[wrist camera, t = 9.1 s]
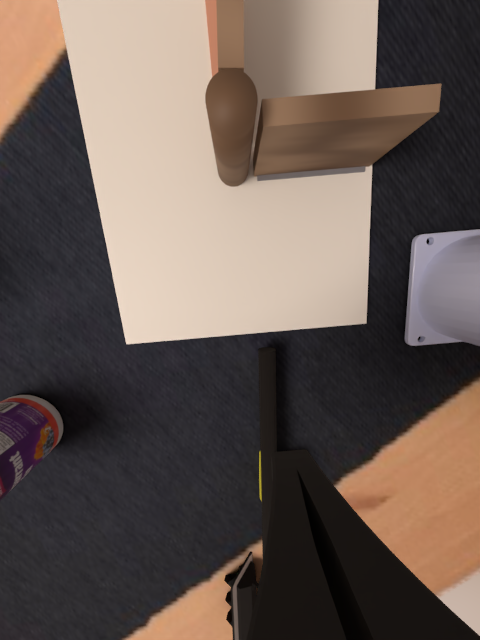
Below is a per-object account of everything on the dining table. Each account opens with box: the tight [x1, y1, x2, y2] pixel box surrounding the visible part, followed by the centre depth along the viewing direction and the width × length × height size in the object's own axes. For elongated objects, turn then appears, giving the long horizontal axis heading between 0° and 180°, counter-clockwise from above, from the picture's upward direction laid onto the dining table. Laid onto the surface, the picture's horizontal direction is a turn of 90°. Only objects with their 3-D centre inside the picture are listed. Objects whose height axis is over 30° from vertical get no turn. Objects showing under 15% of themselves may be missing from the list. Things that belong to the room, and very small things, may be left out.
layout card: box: [57, 0, 378, 344], centre depth 14 cm, size 18×24×1 cm
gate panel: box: [216, 0, 244, 72], centre depth 10 cm, size 8×1×5 cm, turn 0°
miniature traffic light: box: [224, 347, 277, 640], centre depth 20 cm, size 7×6×30 cm
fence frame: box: [205, 68, 441, 187], centre depth 12 cm, size 10×2×6 cm, turn 95°
